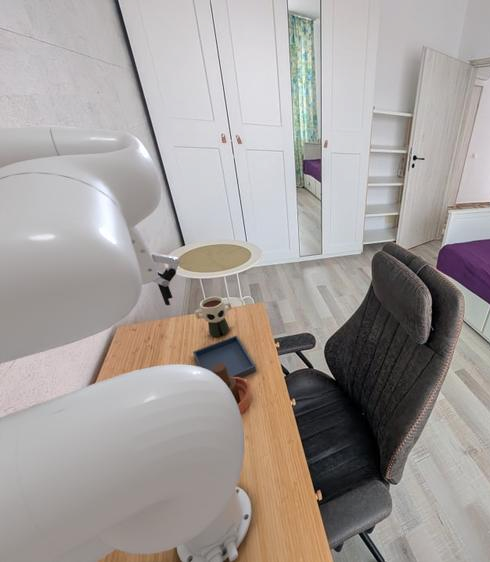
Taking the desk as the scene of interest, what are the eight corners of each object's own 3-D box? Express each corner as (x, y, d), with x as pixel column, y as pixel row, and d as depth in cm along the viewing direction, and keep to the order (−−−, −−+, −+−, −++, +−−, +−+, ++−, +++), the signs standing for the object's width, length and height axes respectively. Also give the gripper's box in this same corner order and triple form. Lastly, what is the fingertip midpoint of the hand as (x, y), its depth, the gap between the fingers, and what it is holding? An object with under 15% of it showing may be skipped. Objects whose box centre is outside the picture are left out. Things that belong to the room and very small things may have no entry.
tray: (256, 372, 86) (255, 366, 85) (209, 394, 79) (206, 387, 77) (238, 340, 97) (236, 335, 96) (194, 357, 90) (192, 351, 88)
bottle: (243, 404, 76) (233, 368, 70) (221, 415, 73) (209, 379, 66) (236, 390, 80) (227, 356, 73) (216, 400, 77) (204, 365, 70)
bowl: (258, 406, 76) (255, 397, 74) (212, 431, 70) (209, 421, 68) (244, 380, 84) (241, 370, 82) (201, 399, 77) (198, 390, 75)
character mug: (204, 343, 95) (194, 312, 89) (200, 331, 100) (191, 301, 94) (238, 332, 101) (231, 302, 95) (233, 321, 106) (226, 292, 100)
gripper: (1, 238, 35) (68, 341, 44) (166, 217, 45) (194, 304, 54) (12, 221, 40) (70, 317, 49) (159, 205, 50) (186, 287, 59)
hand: (135, 310), depth 51 cm, fingers open, 9 cm apart
